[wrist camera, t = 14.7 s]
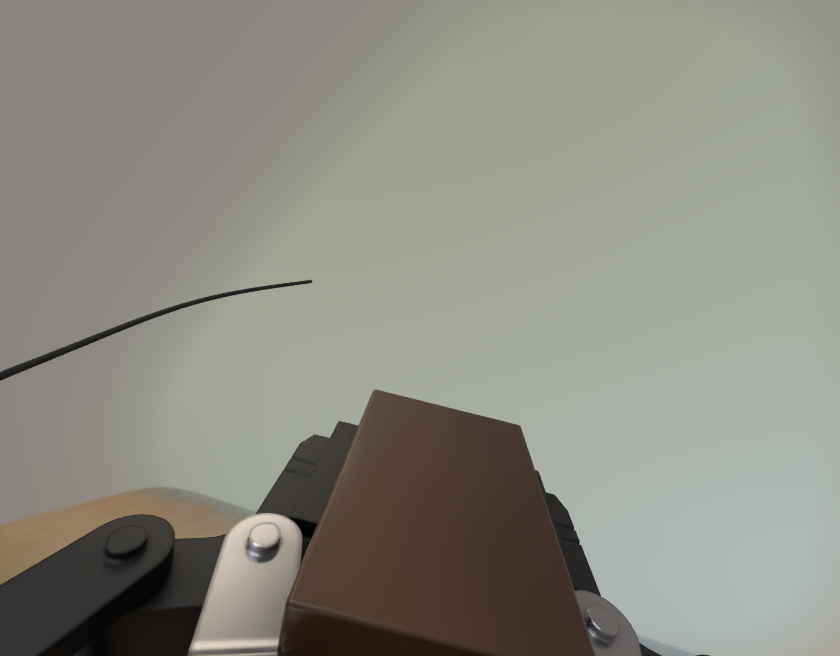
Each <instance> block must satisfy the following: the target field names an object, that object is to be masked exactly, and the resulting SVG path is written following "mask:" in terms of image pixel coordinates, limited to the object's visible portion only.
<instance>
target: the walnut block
mask: <svg viewBox="0 0 840 656" xmlns="http://www.w3.org/2000/svg"><path fill="white" fill-rule="evenodd" d="M278 647H280V648H282V649H291V650H292V651H294V656H596V654H595V651H594V648H593V645H592V642H591V639H590V636H589V633H588V630H587V627H586V624H585V621H584V618H583V615H582V612H581V609H580V606H579V603H578V600H577V597H576V594H575V591H574V588H573V584H572V581H571V578H570V575H569V572H568V569H567V566H566V563H565V560H564V557H563V554H562V551H561V548H560V545H559V542H558V539H557V536H556V533H555V530H554V527H553V524H552V521H551V518H550V515H549V511H548V508H547V505H546V502H545V499H544V496H543V493H542V490H541V487H540V484H539V481H538V478H537V475H536V472H535V469H534V466H533V463H532V460H531V457H530V454H529V451H528V448H527V445H526V442H525V438H524V436H523V433H522V429H521V427H520V426H519V425H516V424H512V423H508V422H504V421H500V420H496V419H492V418H488V417H484V416H480V415H476V414H472V413H468V412H464V411H460V410H456V409H452V408H448V407H444V406H440V405H436V404H432V403H428V402H423V401H420V400H416V399H412V398H408V397H403V396H399V395H396V394H392V393H387V392H384V391H380V390H374V391H373V393H372V395H371V397H370V400H369V402H368V404H367V407H366V409H365V412H364V414H363V416H362V419H361V421H360V424H359V426H358V428H357V431H356V433H355V436H354V438H353V440H352V443H351V445H350V448H349V450H348V453H347V455H346V457H345V460H344V462H343V465H342V467H341V469H340V472H339V474H338V477H337V479H336V481H335V484H334V486H333V489H332V491H331V493H330V496H329V498H328V501H327V503H326V505H325V508H324V510H323V513H322V515H321V517H320V520H319V522H318V525H317V527H316V529H315V532H314V534H313V537H312V539H311V541H310V544H309V546H308V549H307V551H306V553H305V556H304V558H303V561H302V563H301V565H300V568H299V570H298V573H297V575H296V577H295V580H294V582H293V585H292V587H291V589H290V592H289V594H288V597H287V599H286V602H285V608H284V613H283V618H282V624H281V629H280V635H279V640H278Z"/></svg>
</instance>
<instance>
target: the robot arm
mask: <svg viewBox="0 0 840 656" xmlns="http://www.w3.org/2000/svg"><path fill="white" fill-rule="evenodd" d="M307 283H312V280H306V281H299V282H291V283H283V284H276V285H269V286H262V287H255V288H249V289H243V290H237V291H232V292H227V293H222V294H218V295H213V296H209V297H204V298H201V299H197V300H193V301H189V302H186V303H182V304H179V305H176V306H173V307H170V308H166V309H163V310H160V311H157V312H155V313H152V314H149V315H146V316H143V317H141V318H138V319H135V320H132V321H130V322H127V323H124V324H122V325H119V326H116V327H114V328H111V329H109V330H106V331H104V332H101V333H98V334H96V335H93V336H91V337H88V338H86V339H83V340H81V341H78V342H76V343H73V344H70V345H68V346H65V347H63V348H60V349H58V350H55V351H53V352H50V353H48V354H45V355H42V356H40V357H37V358H35V359H32V360H30V361H27V362H24V363H22V364H19V365H16V366H14V367H11V368H9V369H6V370H4V371H2V372H0V381H1V380H3V379H6V378H8V377H10V376H12V375H15V374H17V373H19V372H22V371H24V370H27V369H29V368H32V367H34V366H37V365H39V364H42V363H44V362H46V361H49V360H52V359H54V358H56V357H59V356H61V355H64V354H66V353H68V352H71V351H73V350H76V349H78V348H81V347H83V346H86V345H88V344H90V343H93V342H95V341H98V340H100V339H102V338H105V337H107V336H110V335H112V334H114V333H117V332H120V331H122V330H124V329H127V328H130V327H132V326H135V325H137V324H140V323H142V322H145V321H147V320H150V319H153V318H155V317H158V316H161V315H164V314H167V313H170V312H173V311H176V310H179V309H181V308H185V307H188V306H191V305H195V304H198V303H202V302H206V301H210V300H214V299H218V298H222V297H227V296H232V295H237V294H242V293H248V292H253V291H259V290H266V289H272V288H279V287H286V286H293V285H300V284H307ZM357 428H358V425H353V424H350V423H345V422H341V421H339V422H338V424H337V425H336V427H335V429H334V432H333V433H332V435H331V437H330V438H327V437H323V436H319V435H313V436H311V437H310V438H308V439H307V440H305V441H303V442H302V443H300V444H299V446H298V448H297V449H296V451H295V452H294V454H293V456H292V458H291V459H290V460H289V462H288V463H287V465H286V467H285V469H284V470H283V471H282V473H281V475H280V476H279V478H278V479H277V481H276V483H275V484H274V486H273V487H272V489H271V490H270V492H269V494H268V495H267V497H266V498H265V500H264V502H263V503H262V505H261V506H260V508H259V510H258V511H257V513H256V514H255V515H252V516H249V517H247V518H245V519H243V520H241V521H239V522H238V523H237V524H235V525H234V526H233V527H232V528H231V529H230V530H229V532H228V533H227V534H225V535H221V536H216V537H209V538H187V539H175V532H174V529H173V527H172V526H171V524H170V523H169V522H167V521H166V520H165V519H163V518H161V517H157V516H154V515H144V514H139V515H131V516H126V517H122V518H118V519H115V520H113V521H110V522H108V523H106V524H104V525H102V526H100V527H98V528H97V529H95V530H93V531H91V532H90V533H88V534H86V535H85V536H83V537H81V538H80V539H78V540H76V541H74V542H73V543H71V544H69V545H68V546H66V547H64V548H63V549H61V550H59V551H57V552H56V553H54V554H52V555H51V556H49V557H47V558H45V559H44V560H42V561H40V562H39V563H37V564H35V565H34V566H32V567H30V568H28V569H27V570H25V571H23V572H22V573H20V574H18V575H17V576H15V577H13V578H11V579H10V580H8V581H6V582H5V583H3V584H1V585H0V656H294V651H292V650H291V649H282V648H280V647H278V640H279V635H280V629H281V624H282V618H283V613H284V608H285V602H286V599H287V597H288V594H289V592H290V589H291V587H292V585H293V582H294V580H295V577H296V575H297V573H298V570H299V568H300V565H301V563H302V561H303V558H304V556H305V553H306V551H307V549H308V546H309V544H310V541H311V539H312V537H313V534H314V532H315V529H316V527H317V525H318V522H319V520H320V517H321V515H322V513H323V510H324V508H325V505H326V503H327V501H328V498H329V496H330V493H331V491H332V489H333V486H334V484H335V481H336V479H337V477H338V474H339V472H340V469H341V467H342V465H343V462H344V460H345V457H346V455H347V453H348V450H349V448H350V445H351V443H352V440H353V438H354V436H355V433H356V431H357ZM535 472H536V475H537V478H538V481H539V484H540V487H541V490H542V493H543V496H544V499H545V502H546V505H547V508H548V511H549V515H550V518H551V521H552V524H553V527H554V530H555V533H556V536H557V539H558V542H559V545H560V548H561V551H562V554H563V557H564V560H565V563H566V566H567V569H568V572H569V575H570V578H571V581H572V584H573V588H574V591H575V594H576V597H577V600H578V603H579V606H580V609H581V612H582V615H583V618H584V621H585V624H586V627H587V630H588V633H589V636H590V639H591V642H592V645H593V648H594V651H595V654H596V656H661V655H659V654H657V653H655V652H654V651H652V650H650V649H648V648H647V647H645V646H643V645H642V644H640V643H639V641H638V638H637V635H636V633H635V631H634V629H633V628H632V626H631V624H630V623H629V621H628V620H627V619H626V617H625V616H624V615H623V614H622V613H621V612H620V611H619V610H618V609H617V608H616V607H615V606H614V605H612V604H611V603H610V602H609V601H607V600H606V599H604V598H602V597H601V595H600V592H599V590H598V587H597V585H596V582H595V579H594V577H593V574H592V572H591V569H590V567H589V564H588V562H587V559H586V556H585V554H584V551H583V549H582V546H581V545H579V542H580V541H579V539H578V536H577V533H576V531H575V530H574V526H573V523H572V521H571V518H570V516H569V513H568V511H567V509H566V508H565V507H564V506H563V504H562V503H561V502H560V501H559V500H558V498H557V497H556V496H555V495H553V494H550V493H546V492H545V489H544V486H543V483H542V480H541V477H540V474H539V472H538V471H537V470H535ZM697 656H709V655H697Z"/></svg>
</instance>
